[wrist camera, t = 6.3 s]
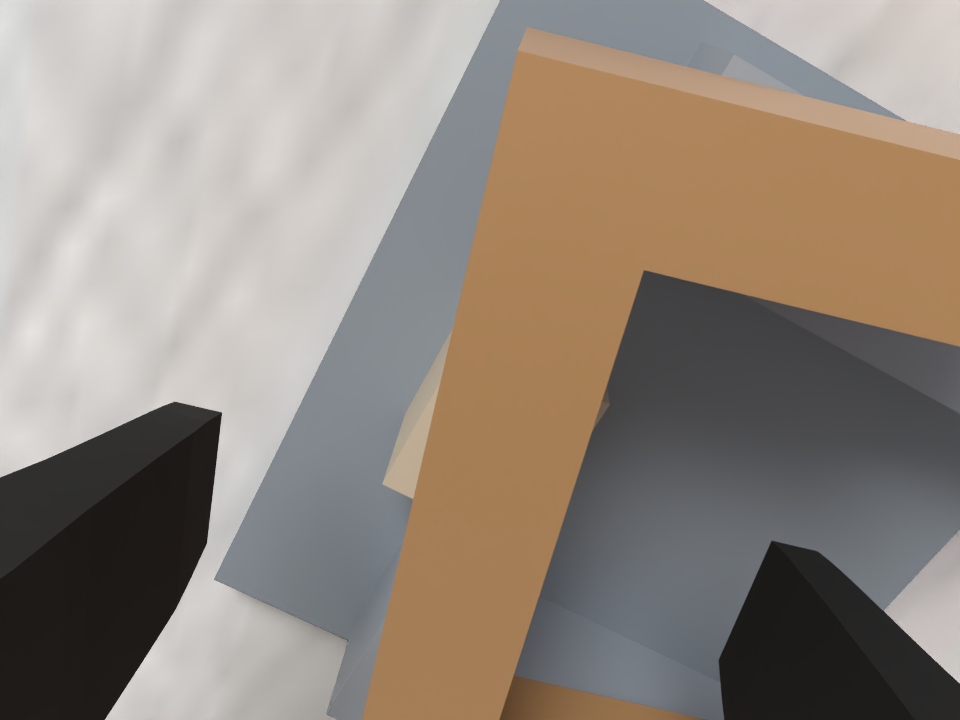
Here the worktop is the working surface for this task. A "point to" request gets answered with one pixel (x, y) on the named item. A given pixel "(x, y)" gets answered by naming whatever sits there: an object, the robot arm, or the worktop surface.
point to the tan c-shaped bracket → (605, 311)
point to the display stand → (614, 420)
